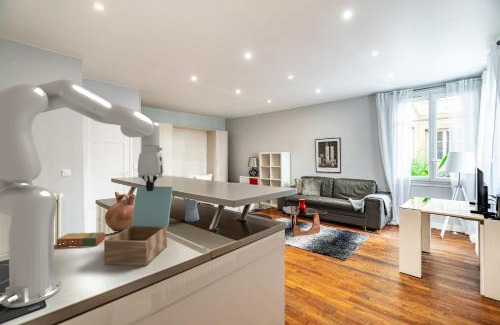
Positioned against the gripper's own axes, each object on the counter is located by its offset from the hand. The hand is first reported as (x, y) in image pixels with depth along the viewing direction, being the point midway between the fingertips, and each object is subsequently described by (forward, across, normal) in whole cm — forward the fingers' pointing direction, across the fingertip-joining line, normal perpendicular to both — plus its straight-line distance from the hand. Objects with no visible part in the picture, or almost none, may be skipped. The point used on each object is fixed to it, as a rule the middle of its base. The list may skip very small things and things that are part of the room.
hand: (150, 190), depth 104 cm
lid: (+7, 0, -2) cm, 7 cm away
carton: (+26, +32, 0) cm, 41 cm away
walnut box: (+25, 0, +10) cm, 27 cm away
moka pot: (+24, -6, -42) cm, 49 cm away
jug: (+25, +26, -22) cm, 42 cm away
